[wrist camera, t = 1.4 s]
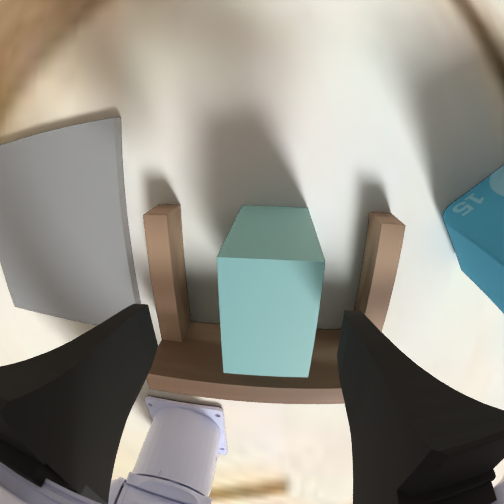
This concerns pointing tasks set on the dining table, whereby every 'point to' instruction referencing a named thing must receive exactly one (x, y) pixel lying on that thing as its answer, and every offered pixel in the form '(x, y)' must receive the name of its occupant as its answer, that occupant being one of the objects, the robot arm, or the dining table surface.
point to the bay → (209, 335)
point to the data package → (481, 235)
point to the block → (270, 291)
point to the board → (67, 223)
